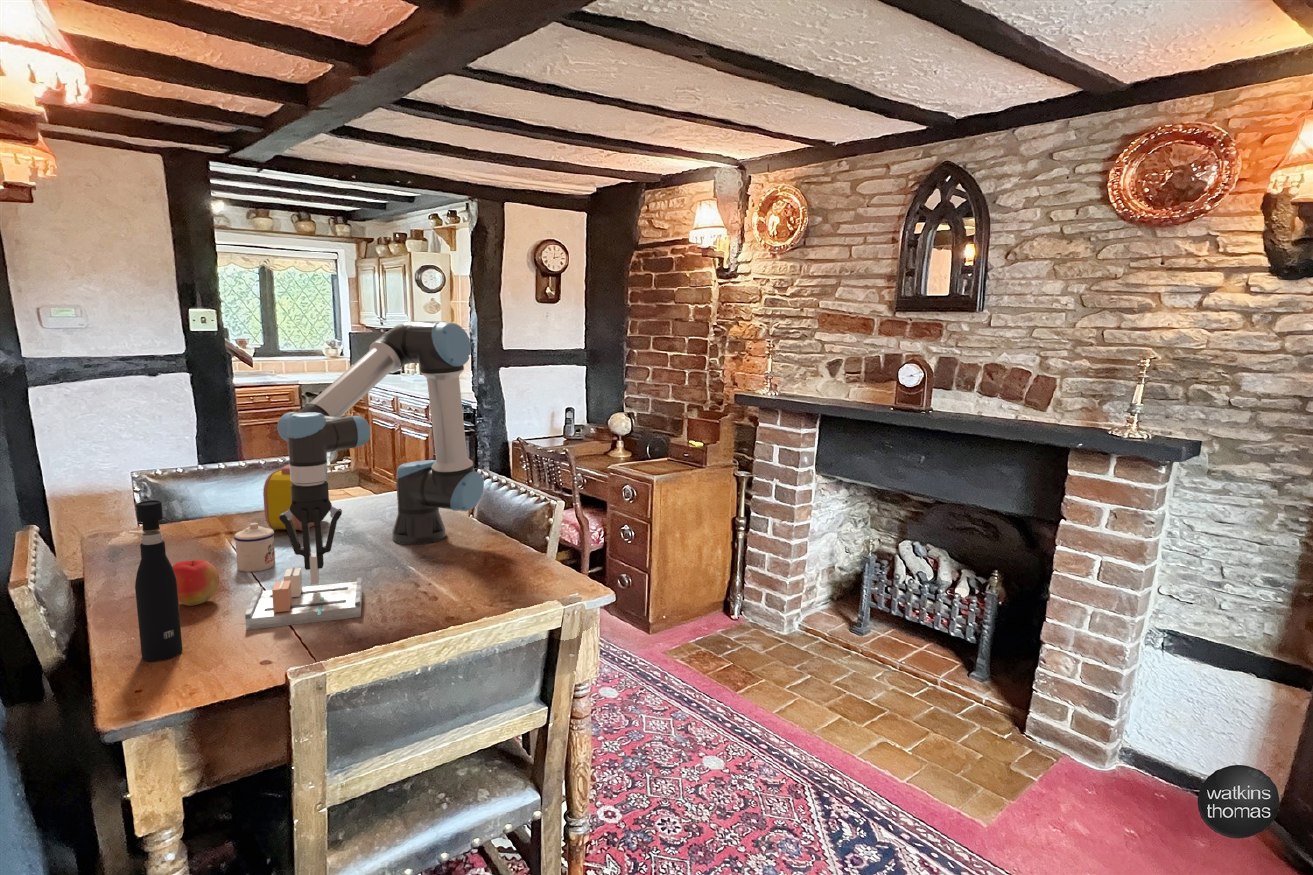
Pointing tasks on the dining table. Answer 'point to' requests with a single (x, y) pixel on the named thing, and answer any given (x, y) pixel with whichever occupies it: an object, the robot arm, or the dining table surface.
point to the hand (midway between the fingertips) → (315, 581)
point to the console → (307, 606)
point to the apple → (195, 581)
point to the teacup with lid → (255, 548)
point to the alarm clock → (279, 499)
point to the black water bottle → (156, 590)
